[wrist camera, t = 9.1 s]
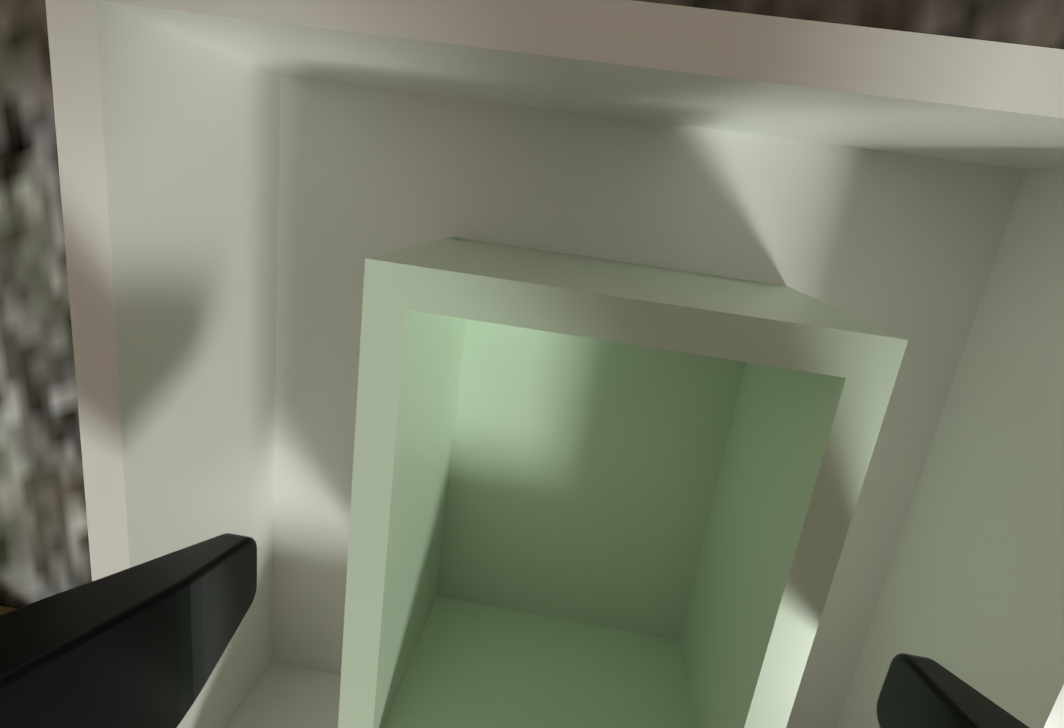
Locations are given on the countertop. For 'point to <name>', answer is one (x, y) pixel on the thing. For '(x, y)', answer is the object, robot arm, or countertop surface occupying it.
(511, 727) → the sage crate
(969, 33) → the countertop surface
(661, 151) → the white open box
